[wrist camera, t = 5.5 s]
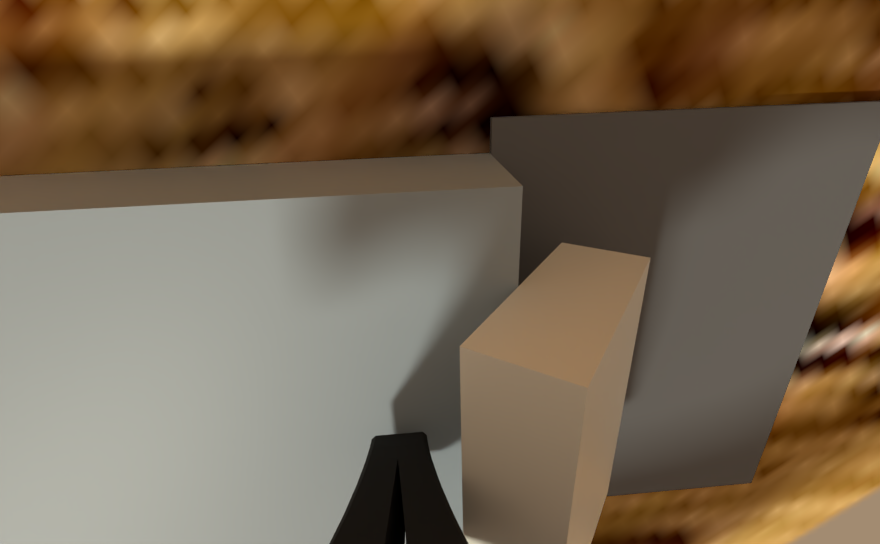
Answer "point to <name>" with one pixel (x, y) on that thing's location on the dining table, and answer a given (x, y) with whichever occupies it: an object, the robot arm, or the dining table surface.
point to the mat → (699, 258)
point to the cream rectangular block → (548, 398)
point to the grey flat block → (236, 340)
